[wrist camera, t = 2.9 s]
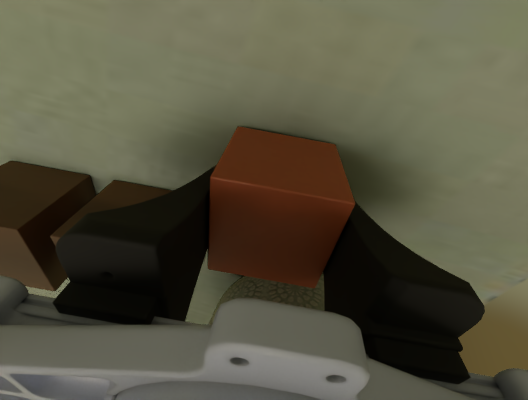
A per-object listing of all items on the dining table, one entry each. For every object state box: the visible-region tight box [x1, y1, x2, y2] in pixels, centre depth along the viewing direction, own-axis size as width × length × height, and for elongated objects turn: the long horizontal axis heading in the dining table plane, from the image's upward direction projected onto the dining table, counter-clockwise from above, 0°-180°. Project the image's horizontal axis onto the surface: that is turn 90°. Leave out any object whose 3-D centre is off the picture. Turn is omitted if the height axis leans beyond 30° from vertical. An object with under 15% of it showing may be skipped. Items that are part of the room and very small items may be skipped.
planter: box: [208, 274, 324, 325], centre depth 16 cm, size 12×12×11 cm
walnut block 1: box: [0, 161, 96, 291], centre depth 15 cm, size 5×5×5 cm
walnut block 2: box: [50, 180, 171, 246], centre depth 15 cm, size 5×5×5 cm
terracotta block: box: [208, 127, 355, 288], centre depth 12 cm, size 5×5×5 cm
